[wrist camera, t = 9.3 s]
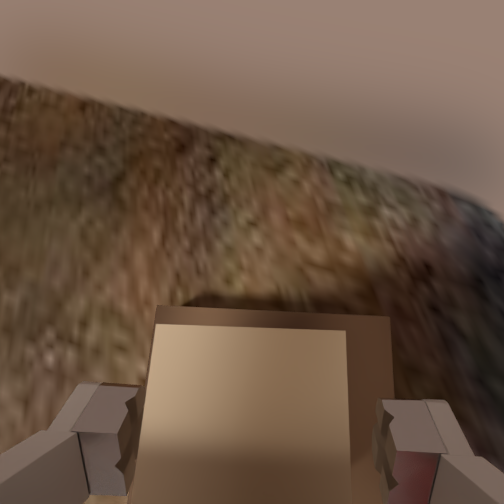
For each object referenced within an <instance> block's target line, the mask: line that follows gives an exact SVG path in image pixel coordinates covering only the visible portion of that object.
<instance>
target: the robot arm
mask: <svg viewBox="0 0 504 504" xmlns="http://www.w3.org/2000/svg"><path fill="white" fill-rule="evenodd" d="M145 398H146V392H145V387H143V386H142V385H131V384H118V383H105V382H103V383H100V382H86V381H83V382H81V383H80V384H78V385H77V387H76V388H75V390H74V391H73V393H72V394H71V396H70V397H69V399H68V400H67V402H66V403H65V404H64V406H63V407H62V409H61V410H60V412H59V413H58V415H57V416H56V418H55V419H54V421H53V422H52V424H51V425H50V427H49V428H48V430H47V431H43V430H40V431H39V432H37V433H35V434H34V435H32V436H30V437H29V438H27V439H25V440H24V441H22V442H20V443H19V444H17V445H15V446H14V447H12V448H10V449H9V450H7V451H5V452H4V453H2V454H0V504H82V503H83V502H85V501H86V500H87V499H88V498H89V495H113V496H127V494H128V491H129V489H130V486H131V483H132V481H133V478H134V476H135V470H136V463H135V460H136V459H137V455H138V448H139V441H140V434H141V427H142V420H143V413H144V408H143V406H144V404H145ZM375 412H376V416H377V420H378V422H377V423H376V424H375V425H374V426H373V431H372V454H373V461H374V466H375V469H376V470H377V471H378V472H379V473H380V474H381V477H380V484H379V488H380V492H381V496H382V501H383V504H504V473H503V472H501V471H500V470H499V469H497V468H496V467H495V466H493V465H492V464H491V463H490V462H488V461H487V460H486V459H484V458H483V457H478V456H475V455H474V453H473V451H472V449H471V447H470V445H469V443H468V441H467V439H466V437H465V435H464V433H463V431H462V430H461V428H460V426H459V424H458V422H457V420H456V418H455V416H454V414H453V412H452V410H451V408H450V406H449V404H448V402H446V401H445V400H434V399H422V400H419V399H397V398H378V400H377V402H376V409H375Z"/></svg>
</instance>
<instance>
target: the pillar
mask: <svg viewBox="0 0 504 504" xmlns="http://www.w3.org/2000/svg"><path fill="white" fill-rule="evenodd" d="M131 504H352V490H351V463H350V436H349V409H348V382H347V355H346V331H338V330H310V329H282V328H254V327H226V326H199V325H171V324H156V327H155V334H154V341H153V348H152V356H151V363H150V370H149V377H148V384H147V391H146V398H145V405H144V413H143V420H142V427H141V434H140V441H139V448H138V455H137V463H136V470H135V477H134V484H133V491H132V498H131Z"/></svg>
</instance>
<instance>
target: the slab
mask: <svg viewBox="0 0 504 504" xmlns="http://www.w3.org/2000/svg"><path fill="white" fill-rule="evenodd" d="M156 324H171V325H199V326H226V327H254V328H282V329H310V330H338V331H346V355H347V382H348V409H349V436H350V463H351V490H352V504H383V501H382V496H381V492H380V488H379V484H380V477H381V474H380V473H379V472H378V471H377V470H376V469H375V466H374V461H373V454H372V431H373V426H374V425H375V424H376V423H377V422H378V420H377V416H376V412H375V409H376V402H377V400H378V398H395V394H394V377H393V360H392V344H391V327H390V316H369V315H349V314H328V313H307V312H286V311H266V310H245V309H224V308H203V307H183V306H162V305H157V308H156V315H155V322H154V328H153V335H152V342H151V348H150V355H149V362H148V368H147V375H146V382H145V392H146V391H147V384H148V377H149V370H150V363H151V356H152V348H153V341H154V334H155V327H156ZM144 405H145V404H144ZM143 408H144V406H143ZM135 463H137V459H136V460H135ZM134 477H135V476H134ZM133 484H134V478H133V481H132V483H131V486H130V489H129V495H128V501H127V504H131V498H132V491H133Z"/></svg>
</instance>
